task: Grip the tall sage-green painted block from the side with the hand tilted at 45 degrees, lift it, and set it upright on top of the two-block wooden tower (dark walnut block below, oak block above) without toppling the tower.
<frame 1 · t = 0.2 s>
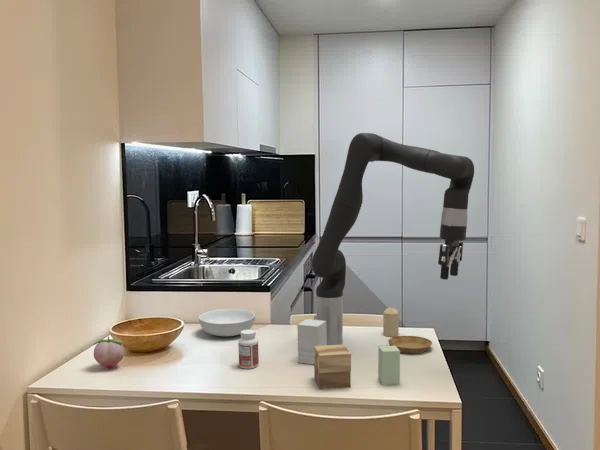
hand: (448, 277, 182), 29 cm above the table, tool pointing down, fingers open, 8 cm apart
serving bowl: (227, 333, 227), on the table
supplement box: (312, 361, 195), on the table
decorative fruit: (109, 368, 190), on the table
pill bottle: (248, 366, 191), on the table
candle: (390, 335, 223), on the table
plant saucer: (409, 349, 207), on the table
oak block: (332, 366, 175), point 5 cm above the table
sage block: (388, 382, 176), on the table
walnut block: (332, 383, 176), on the table
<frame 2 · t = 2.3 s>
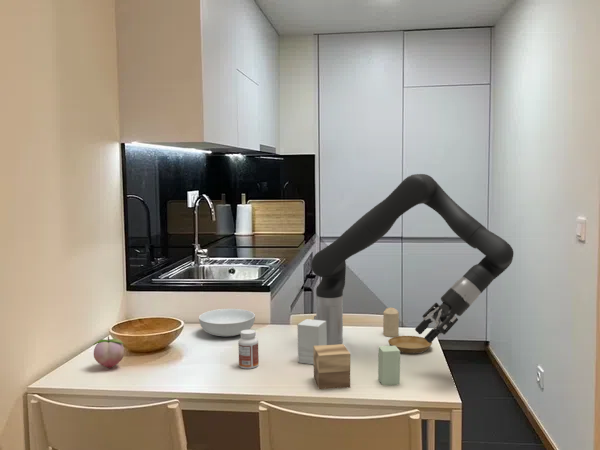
hand: (421, 336, 176), 13 cm above the table, tool tilted 45°, fingers open, 8 cm apart
oak block: (331, 366, 175), point 5 cm above the table, touching walnut block
walnut block: (331, 383, 176), on the table, touching oak block
everything else where it was.
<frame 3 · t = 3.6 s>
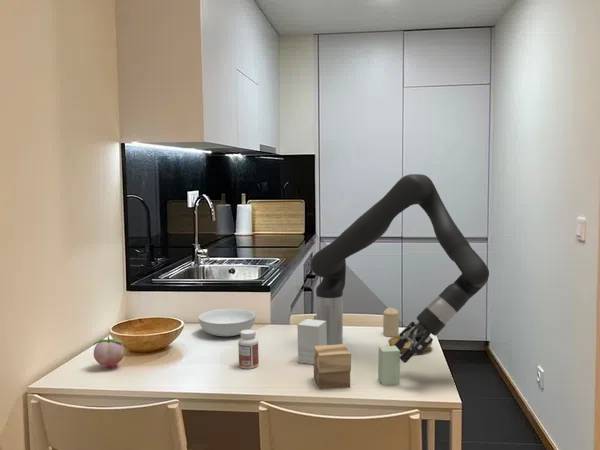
hand: (397, 355, 176), 8 cm above the table, tool tilted 45°, fingers open, 8 cm apart
nothing on the table moved.
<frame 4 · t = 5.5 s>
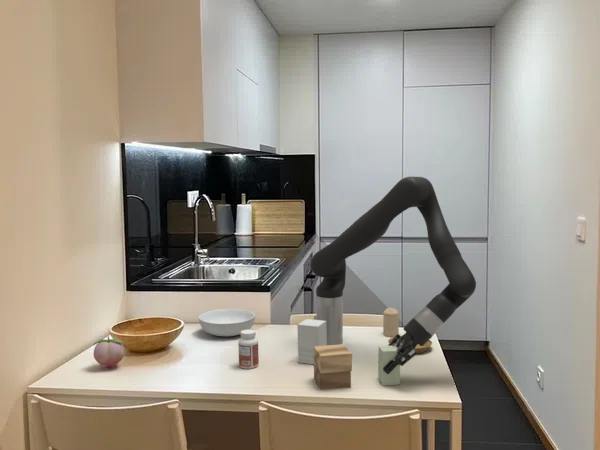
hand: (382, 368, 175), 4 cm above the table, tool tilted 45°, fingers closed on sage block, 5 cm apart
sage block: (388, 382, 176), on the table, touching gripper
everything else where it was.
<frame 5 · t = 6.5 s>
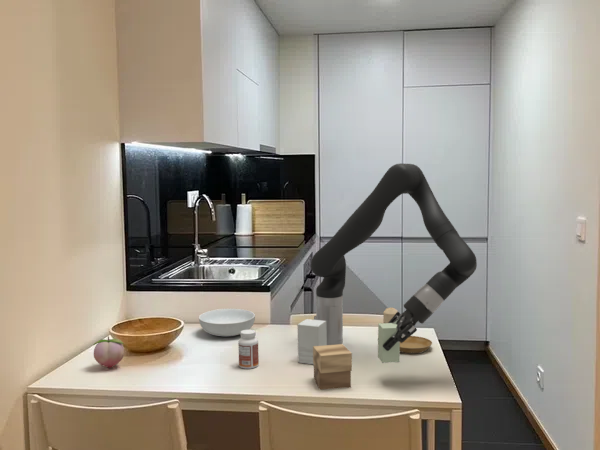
hand: (382, 345, 175), 11 cm above the table, tool tilted 45°, fingers closed on sage block, 5 cm apart
sage block: (388, 359, 176), point 7 cm above the table, touching gripper
everything else where it was.
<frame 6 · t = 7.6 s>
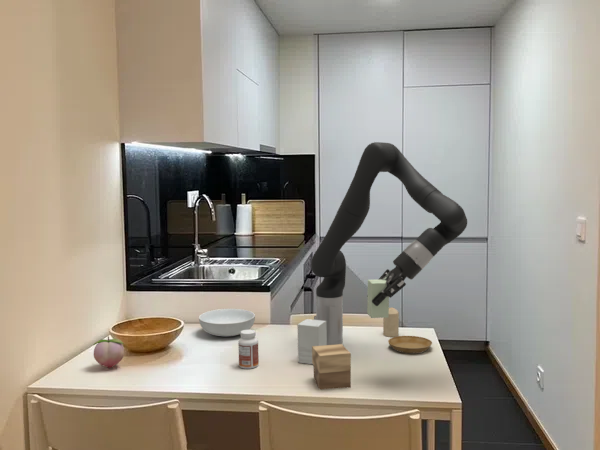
hand: (371, 301, 175), 24 cm above the table, tool tilted 45°, fingers closed on sage block, 5 cm apart
sage block: (377, 315, 176), point 19 cm above the table, touching gripper
everything else where it was.
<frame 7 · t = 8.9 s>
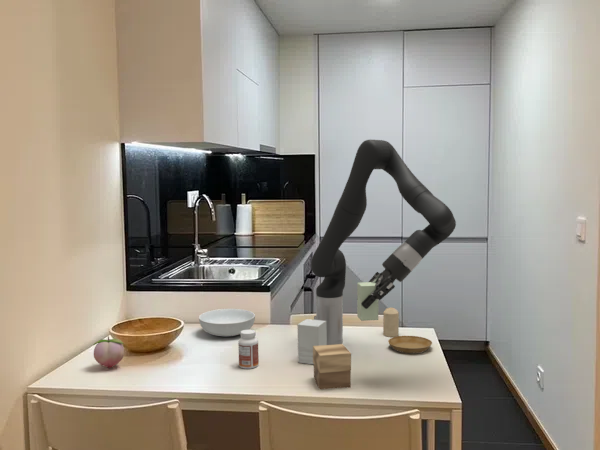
hand: (361, 304, 175), 23 cm above the table, tool tilted 45°, fingers closed on sage block, 5 cm apart
sage block: (367, 318, 175), point 19 cm above the table, touching gripper
everything else where it was.
when the fingers open (15 cm above the table, at t = 12.1 s): sage block moves 1 cm, resting on oak block.
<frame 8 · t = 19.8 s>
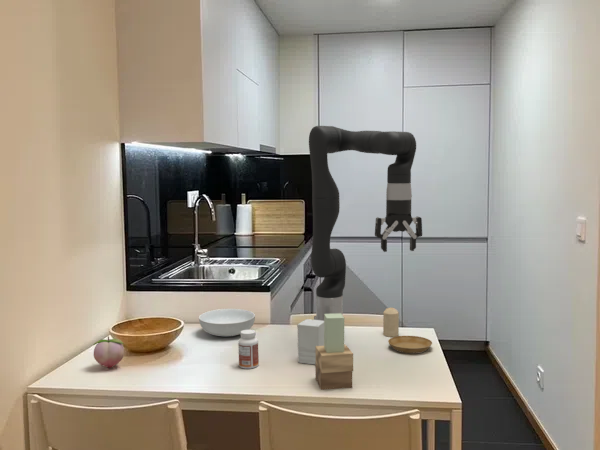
hand: (398, 251, 186), 36 cm above the table, tool pointing down, fingers open, 8 cm apart
oak block: (333, 366, 175), point 5 cm above the table, touching sage block, walnut block
sage block: (334, 349, 175), point 10 cm above the table, touching oak block
everything else where it was.
at the end: sage block inside the target area on the oak block (0.0 cm from its centre), point 5.0 cm above the oak block's base; sage block tilted 1°; oak block moved 0.6 cm from its start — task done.
